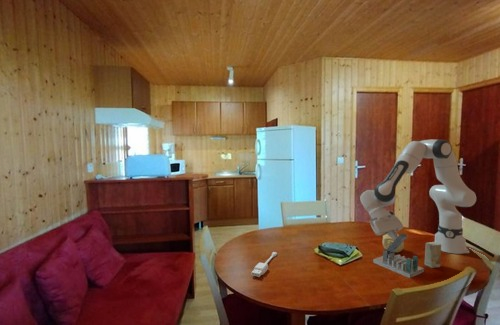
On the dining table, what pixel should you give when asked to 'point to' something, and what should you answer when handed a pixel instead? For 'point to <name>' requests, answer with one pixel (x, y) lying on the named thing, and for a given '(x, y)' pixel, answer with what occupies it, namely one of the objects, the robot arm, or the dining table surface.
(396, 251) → the sculpture
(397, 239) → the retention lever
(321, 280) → the dining table surface
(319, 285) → the dining table surface
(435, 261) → the skincare box
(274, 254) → the charging cable
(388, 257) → the grey dish rack
